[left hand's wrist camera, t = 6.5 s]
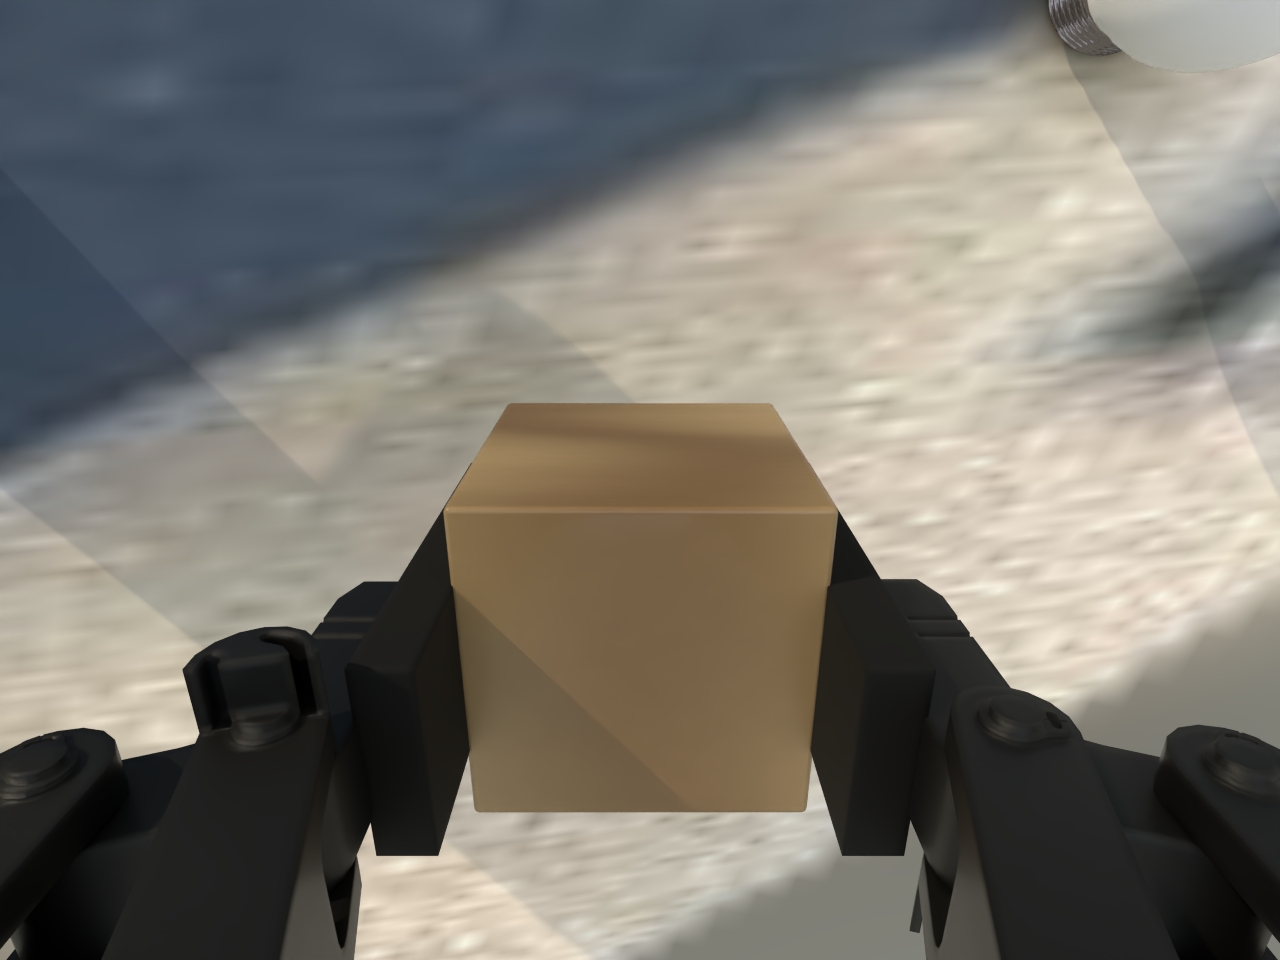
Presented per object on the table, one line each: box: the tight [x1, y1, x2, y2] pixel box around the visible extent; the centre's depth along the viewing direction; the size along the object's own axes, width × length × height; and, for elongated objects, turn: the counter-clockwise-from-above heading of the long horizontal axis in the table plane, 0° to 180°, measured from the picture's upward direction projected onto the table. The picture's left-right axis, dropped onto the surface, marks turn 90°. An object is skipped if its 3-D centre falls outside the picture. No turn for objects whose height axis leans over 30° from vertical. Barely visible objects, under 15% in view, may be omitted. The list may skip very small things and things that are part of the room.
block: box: [443, 403, 838, 812], centre depth 12 cm, size 5×5×5 cm
